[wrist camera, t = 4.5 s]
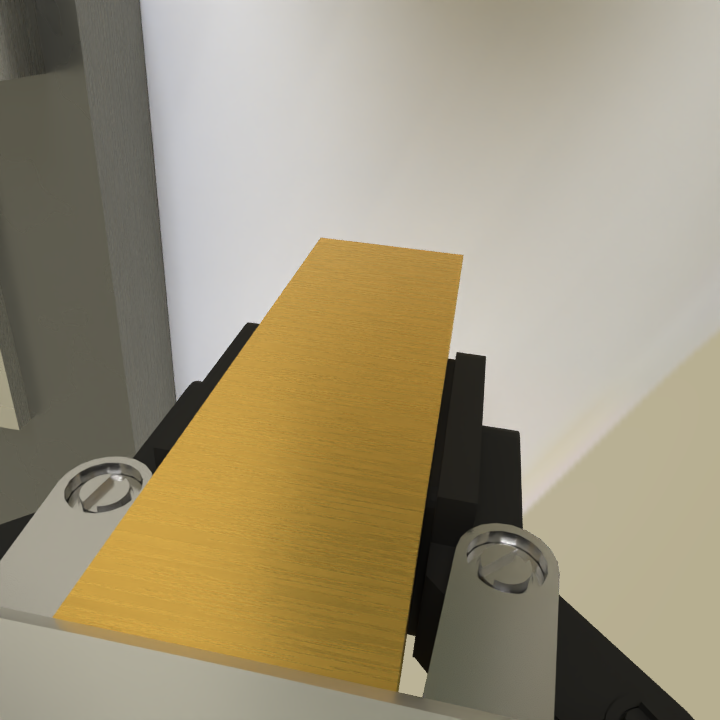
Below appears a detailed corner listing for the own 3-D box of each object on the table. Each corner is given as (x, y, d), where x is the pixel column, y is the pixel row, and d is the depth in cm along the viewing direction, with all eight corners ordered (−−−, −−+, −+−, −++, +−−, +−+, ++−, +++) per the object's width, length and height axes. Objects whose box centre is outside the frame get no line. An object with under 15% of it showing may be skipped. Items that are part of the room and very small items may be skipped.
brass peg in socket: (321, 238, 14) (-66, 785, 4) (463, 254, 13) (364, 897, 4) (316, 411, 16) (55, 1009, 7) (437, 431, 16) (336, 1096, 6)
